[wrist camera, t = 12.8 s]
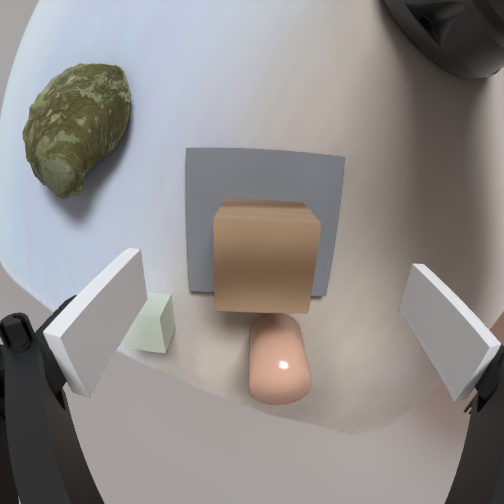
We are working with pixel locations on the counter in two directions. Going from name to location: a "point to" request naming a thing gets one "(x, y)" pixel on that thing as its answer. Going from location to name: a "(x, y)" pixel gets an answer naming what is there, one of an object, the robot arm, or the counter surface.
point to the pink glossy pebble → (278, 361)
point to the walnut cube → (264, 256)
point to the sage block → (152, 325)
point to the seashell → (76, 124)
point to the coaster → (262, 188)
